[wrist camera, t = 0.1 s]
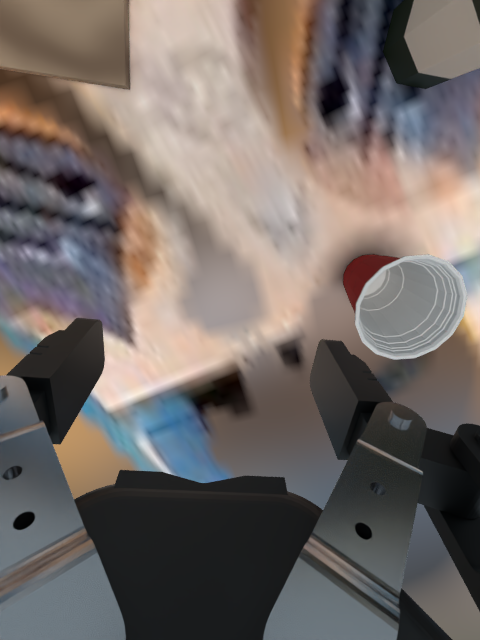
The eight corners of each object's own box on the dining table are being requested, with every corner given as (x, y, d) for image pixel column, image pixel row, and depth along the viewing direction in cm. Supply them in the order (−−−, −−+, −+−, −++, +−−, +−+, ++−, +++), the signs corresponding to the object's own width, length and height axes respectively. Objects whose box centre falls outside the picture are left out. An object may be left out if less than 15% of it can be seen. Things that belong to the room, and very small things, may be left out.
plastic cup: (404, 220, 39) (472, 241, 28) (408, 300, 44) (468, 344, 33) (316, 246, 40) (349, 275, 29) (329, 321, 45) (362, 371, 34)
